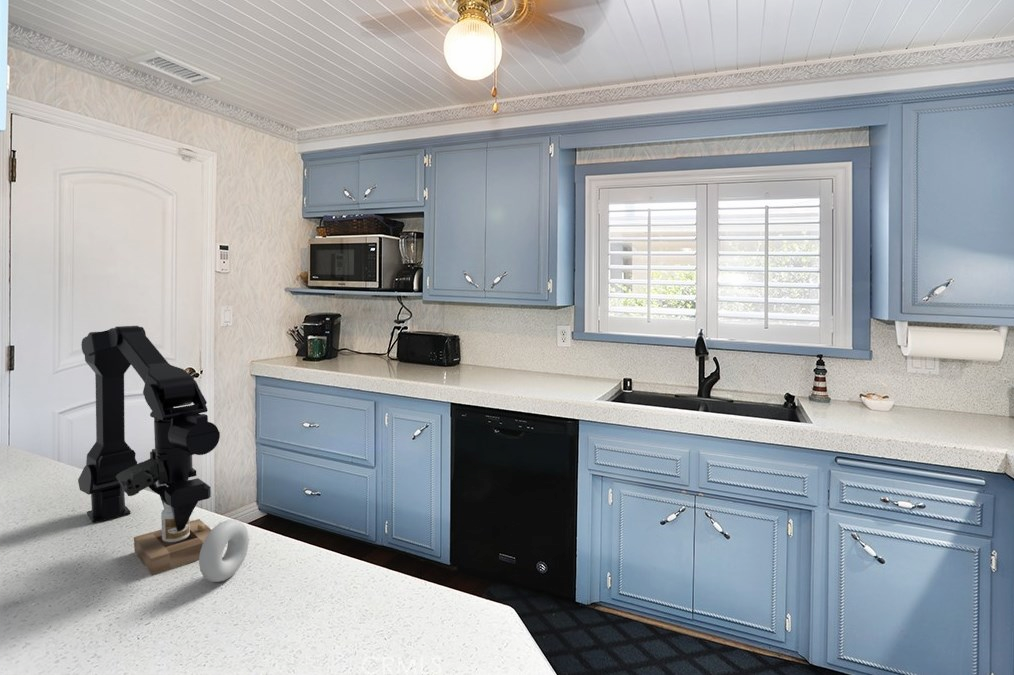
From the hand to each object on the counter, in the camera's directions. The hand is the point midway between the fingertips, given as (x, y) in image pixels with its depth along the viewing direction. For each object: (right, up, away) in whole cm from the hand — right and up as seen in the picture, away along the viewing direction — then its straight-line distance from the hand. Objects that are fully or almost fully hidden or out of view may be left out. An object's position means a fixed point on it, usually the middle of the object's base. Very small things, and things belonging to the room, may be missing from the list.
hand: (176, 525), depth 99 cm
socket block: (0, -5, 0) cm, 5 cm away
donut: (+13, -7, -7) cm, 16 cm away
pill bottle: (0, -2, 0) cm, 2 cm away
